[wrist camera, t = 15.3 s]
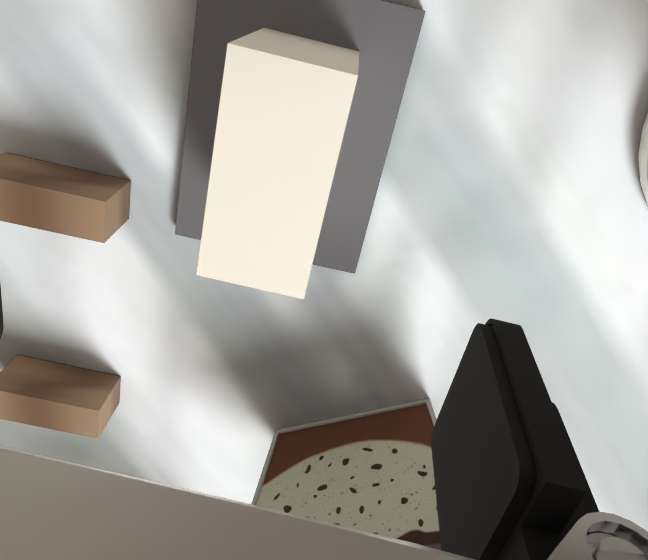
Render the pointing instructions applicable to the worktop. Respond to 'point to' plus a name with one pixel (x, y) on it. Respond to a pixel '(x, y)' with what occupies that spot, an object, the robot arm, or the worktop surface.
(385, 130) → the mat
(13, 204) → the blocks
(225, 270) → the cream cuboid
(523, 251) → the worktop surface
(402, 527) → the food container
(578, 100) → the worktop surface
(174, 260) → the worktop surface
